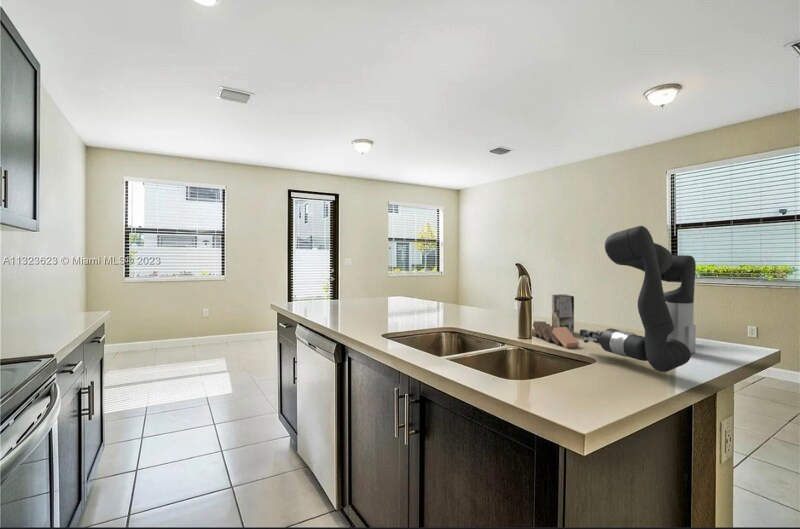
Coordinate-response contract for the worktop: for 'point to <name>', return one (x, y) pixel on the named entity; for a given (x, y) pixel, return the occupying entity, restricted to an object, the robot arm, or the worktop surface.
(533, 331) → the domino
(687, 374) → the worktop surface
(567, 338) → the domino
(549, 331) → the domino
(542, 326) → the domino
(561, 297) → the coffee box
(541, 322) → the domino
